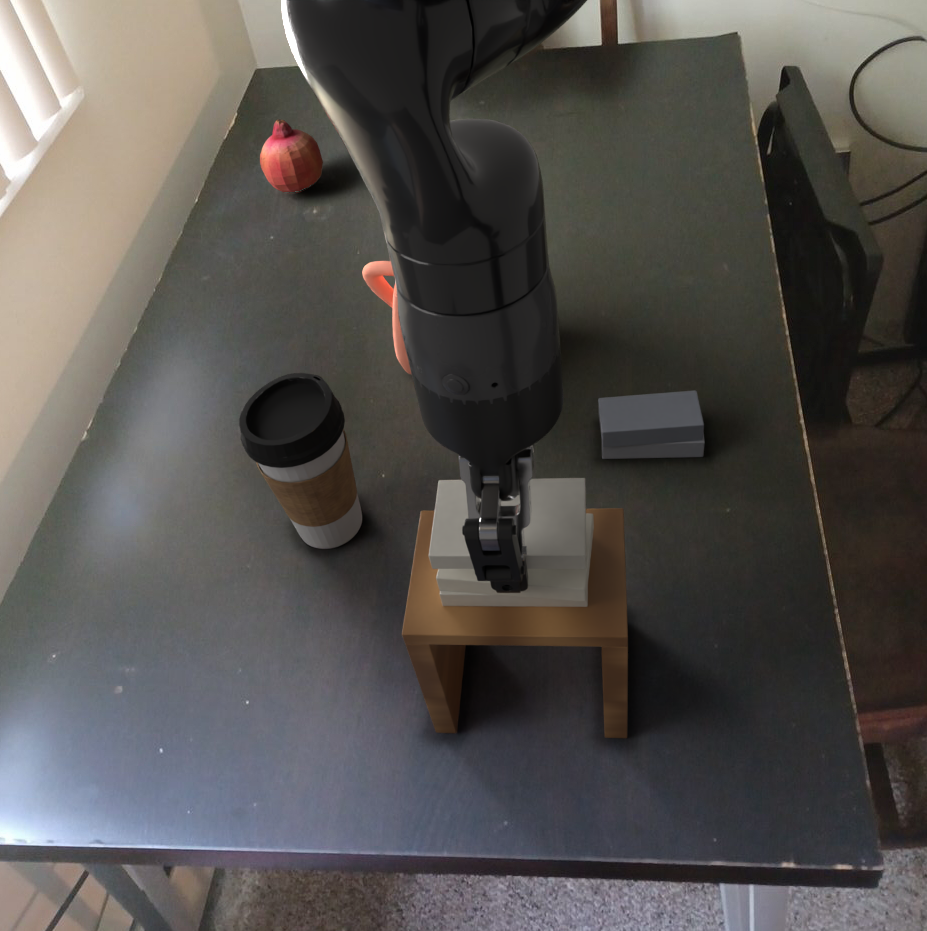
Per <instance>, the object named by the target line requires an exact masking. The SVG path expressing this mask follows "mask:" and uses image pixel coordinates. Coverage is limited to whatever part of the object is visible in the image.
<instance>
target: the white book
mask: <svg viewBox="0 0 927 931" xmlns="http://www.w3.org/2000/svg"><path fill="white" fill-rule="evenodd" d="M530 489H531V507H532V512H531V519H530V524H529V525H528V526H527V527H526V528H524V538H525V546H527V555H525V558H526V565H527V569H585V568H586V509H587V488H586V478H585V477H566V478H565V477H564V478H563V477H561V478H559V477H558V478H557V477H556V478H553V477H552V478H531V480H530ZM479 499H480V498H479ZM480 502H481V499H480ZM518 504H520V495H517V497H516V498H515V499H513V500H511V501H501V506H516V505H518ZM434 510H435V512H434V519H433V527H432V534H431V542H430V549H429V559H430V563H431V566H432V569H474V567H473V564H472V561H471V558H470V555H469V552H468V548H467V545H466V542H465V537H464V535H463V534H462V527H463V525H464V523H465V519H466V518H468V506H467V495H466V485H465V483H464V482H463V481H462V480H461V479H439V480H438V483H437V491H436V497H435V505H434Z"/></svg>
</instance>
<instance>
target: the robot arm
mask: <svg viewBox="0 0 927 931" xmlns="http://www.w3.org/2000/svg"><path fill="white" fill-rule="evenodd" d="M587 1H588V0H281V16H282V17H281V18H282V22H283V28H284V32H285V37H286V39H287V43H288V45H289V49H290V52H291V53H292V56H293V58H294V59H295V62H296V65H297V66H298V68H299V69H300V72H301V74H302V76H303V78H304V79H305V81H306V82H307V84H308V85H309V88H310V89H311V91H312V92H313V94H314V96H315V98H316V99H317V101H318V103H319V104H320V105H321V108H322V109H323V111H324V112H325V114H326V115H327V117H328V119H329V120H330V122H331V124H332V126H333V127H334V129H335V131H336V132H337V134H338V136H339V137H340V139H341V141H342V143H343V145H344V146H345V148H346V151H347V152H348V154H349V156H350V158H351V160H352V161H353V164H354V165H355V168H356V169H357V171H358V173H359V175H360V176H361V179H362V181H363V183H364V184H365V186H366V188H367V190H368V193H369V194H370V196H371V199H372V200H373V202H374V205H375V206H376V209H377V211H378V213H379V217H380V222H381V226H382V231H383V235H384V239H385V243H386V247H387V252H388V256H389V261H391V265H392V269H393V274H394V276H393V278H394V281H395V282H396V288H397V299H398V314H399V321H400V327H401V332H402V336H403V340H404V345H405V349H406V353H407V357H408V361H409V365H410V370H411V374H412V375H411V374H410V375H411V378H412V381H413V386H414V391H415V395H416V398H417V403H418V407H419V412H420V416H421V419H422V423H423V425H424V427H425V428H426V430H427V433H429V435H430V436H431V438H432V439H433V440H435V442H437V443H438V444H440V445H441V446H443V447H444V448H446V449H448V450H449V451H451V452H453V453H455V454H457V455H458V468H459V477H460V480H462V481H463V482H464V483H465V485H466V495H467V506H468V518H466V519H465V523H464V525H463V527H462V534H463V535H464V537H465V542H466V545H467V548H468V552H469V555H470V558H471V561H472V564H473V567H474V571H475V575H476V577H477V580H478V581H490V583H491V588H492V589H493V590H496V592H497V593H521V591H525V590H527V588H528V572H527V565H526V558H525V555H527V546H525V538H524V528H526V527H527V526H528V525H529V524H530V519H531V512H532V507H531V489H530V480H531V479H533V473H534V466H535V465H534V462H535V461H534V454H535V452H536V444H537V443H538V442H540V441H541V440H543V439H544V438H545V437H546V436H547V435H548V434H549V433H550V432H551V431H552V430H553V428H554V427H555V426H556V424H557V423H558V421H559V419H560V417H561V414H562V411H563V409H564V408H563V406H564V400H565V398H564V397H565V396H564V382H563V381H564V380H563V368H562V352H561V338H560V323H559V308H558V298H557V291H556V287H555V283H554V278H553V274H552V271H551V266H550V258H549V251H548V250H549V247H548V235H547V222H546V221H547V220H546V207H545V206H546V205H545V191H544V181H543V176H542V170H541V167H540V162H539V158H538V155H537V153H536V151H535V149H534V147H533V146H532V144H531V142H530V140H529V139H528V138H527V137H526V136H525V135H524V134H523V133H522V132H521V131H519V130H518V129H516V128H515V127H513V126H512V125H509V124H507V123H504V122H501V121H499V120H495V119H489V118H475V117H473V118H470V117H469V118H457V119H452V120H451V115H450V114H451V102H452V101H453V100H455V99H456V98H458V97H459V96H461V95H463V94H465V93H466V92H467V91H470V90H472V88H474V87H476V86H478V85H479V84H481V83H482V82H484V81H486V80H487V79H489V78H490V77H492V76H494V75H496V74H497V73H498V72H500V71H502V70H503V69H505V68H507V67H509V66H510V65H511V64H513V63H515V62H517V61H518V60H520V59H521V58H524V57H525V56H526V55H527V54H529V53H530V52H531V51H533V50H534V49H536V48H537V47H538V46H539V45H541V44H542V43H543V42H544V41H545V40H547V39H548V38H549V37H550V36H552V35H553V34H554V33H555V32H556V31H558V30H559V29H560V28H561V27H562V26H563V25H564V24H566V23H567V22H568V21H569V20H570V19H571V18H572V17H573V16H574V15H575V14H576V13H578V11H579V10H580V9H581V8H582V7H583V6H584V5H585V4H586V3H587ZM517 495H520V504H518V505H516V506H501V501H511V500H513V499H515V498H516V497H517ZM479 498H480V499H481V502H480V499H479Z"/></svg>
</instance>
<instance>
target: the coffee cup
mask: <svg viewBox="0 0 927 931" xmlns="http://www.w3.org/2000/svg"><path fill="white" fill-rule="evenodd" d="M238 422H239V423H238V426H239V431H240V442H241V444H242V447H243V449H244V451H245V453H246V454H247V456H248V458H250V459H252V460H253V461H254V462H255V464H256V466H257V469H258V471H259V472H260V474H261V476H262V477H263V479H264V480H265V482H266V483H267V485H268V486H269V489H270V490H271V491H272V493H273V494H274V496H275V498H276V499H277V501H278V503H279V504H280V506H281V507H282V509H283V511H284V512H285V514H286V515H287V517H288V518H289V520H290V521H291V523H292V525H293V526H294V528H295V530H296V532H297V533H298V535H299V537H300V538H301V539H302V541H303V542H304V543H305V544H306V545H308V546H310V547H312V548H316V549H321V550H328V549H334V548H338V547H341V546H343V545H344V544H346V543H348V542H350V541H351V540H352V539H353V538H354V537H355V536H356V535H357V533H358V532H359V530H360V529H361V526H362V523H363V513H362V508H361V502H360V499H359V495H358V489H357V488H358V487H357V483H356V478H355V472H354V468H353V467H354V466H353V462H352V458H351V452H350V447H349V442H348V436H347V433H346V431H345V422H346V419H345V412H344V410H343V407H342V405H341V403H340V401H339V400H338V398H337V397H336V396H335V394H334V393H333V390H332V389H331V387H330V386H329V384H328V383H327V381H326V380H325V379H324V378H323V377H322V376H320V375H318V374H313V373H307V372H293V373H287V374H283V375H280V376H278V377H277V378H274V379H272V380H270V381H269V382H268V383H266V384H264V385H263V386H261V387H260V388H259V389H258V390H257V391H255V392H254V394H253V395H251V396H250V398H249V399H248V400H247V401H246V402H245V404H244V406H243V408H242V409H241V412H240V414H239V419H238Z"/></svg>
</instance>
